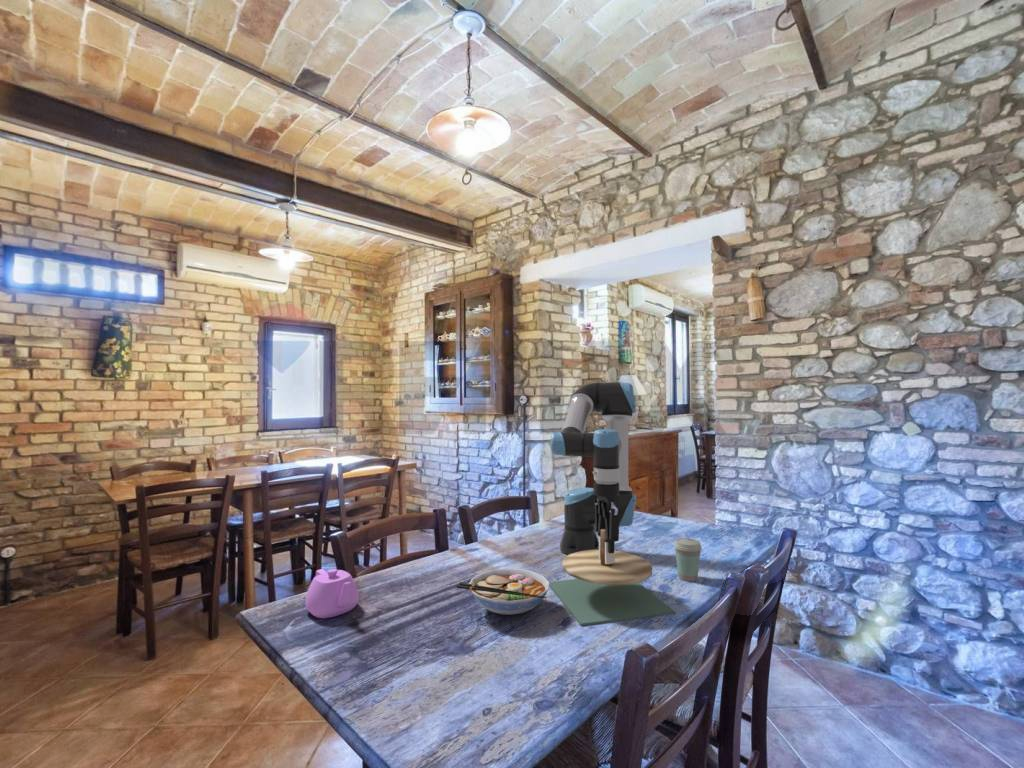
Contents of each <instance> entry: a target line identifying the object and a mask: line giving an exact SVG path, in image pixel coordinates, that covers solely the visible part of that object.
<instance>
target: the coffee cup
mask: <svg viewBox="0 0 1024 768" xmlns="http://www.w3.org/2000/svg"><path fill="white" fill-rule="evenodd" d="M673 547H674V550H675V551H674V552H675V558H676V559H675V560H676V566H677V567H676V569H677V576H678V579H680V580H681V581H683V582H684V581H685V582H692V583H693V582H696V581H698V577H699V575H698V574H699V568H700V567H699V566H700V561H701V560H700V559H701V551H702V545H701V542H700V541H699V540H697V539H694V538H691V537H690V538H689V537H679V538H676V539H675V541H674V543H673Z"/></svg>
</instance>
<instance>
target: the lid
mask: <svg viewBox="0 0 1024 768" xmlns="http://www.w3.org/2000/svg"><path fill="white" fill-rule="evenodd" d="M604 540H606V529H601V559H599V550H585V551H579V552H575V553H572V554H570V555H566V556H565V557H564V558H563V560H562V569H563V570H564V572H565V573H566V574H568V575H570V576H571V577H573V578H575V579H580V580H583V581H587V582H591V583H596V584H604V585H627V584H634V583H641V582H644V581H646V580H648V579H649V578H651V576H652V575H653V566H652V564H651V563H650V562H649V561H648V560H646V559H645V558H643V557H641V556H639V555H636V554H633V553H630V552H626V551H625V552H624V551H621V550H620V551H618V550H615V563H613V564H605V542H604Z"/></svg>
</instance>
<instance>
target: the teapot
mask: <svg viewBox="0 0 1024 768" xmlns="http://www.w3.org/2000/svg"><path fill="white" fill-rule="evenodd" d="M359 600H360V599H359V591H358V587H357V584H356V582H355V580H354V578H353V577H352V575H351V573H349V572H348V571H345V570H343V569H336V568H331V569H328V570H325V569H323V568H321V569H317V570H316V571H315V576H314V577H313V579H312V580H311V582H310V585H309V586H308V589H307V593H306V596H305V608H306V609H307V611H308V612H309V613H310V614H311V615H312V616H314V617H315V618H316V619H317V618H318V619H329V618H333V617H337V616H338V617H339V616H341V615H343V614H346V613H348V612H350V611H352V610H353V609H354V608H355V607H356V605H358V603H359Z"/></svg>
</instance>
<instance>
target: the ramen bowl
mask: <svg viewBox="0 0 1024 768" xmlns="http://www.w3.org/2000/svg"><path fill="white" fill-rule="evenodd" d="M549 582H550V581H549V580H548V579H547V578H546V577H545V576H544V575H543V574H540V573H538V572H536V571H532V570H529V569H523V568H511V567H510V568H508V567H507V568H497V569H491V570H486V571H484V572H480V573H479V574H477V575H475V576H474V577H472V578H471V580H470V582H469V583H466V582H459V584H457V585H456V589H463V590H470V591H471V594H472V595H473V597H474V599H475V601H476V602H477V603H478V604H479V605H480V606H482V607H483V608H484V609H487V610H488V611H490V612H491V613H494V614H495V613H496V614H499V615H504V616H514V615H519V614H523V613H525V612H528V611H530V610H532V609H534V608H535V607H536V606H537V605H539V604H540V603H541V602H542V601H543V599H547V596H546V594H547V593H548V591H549V588H550V587H549Z"/></svg>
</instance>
